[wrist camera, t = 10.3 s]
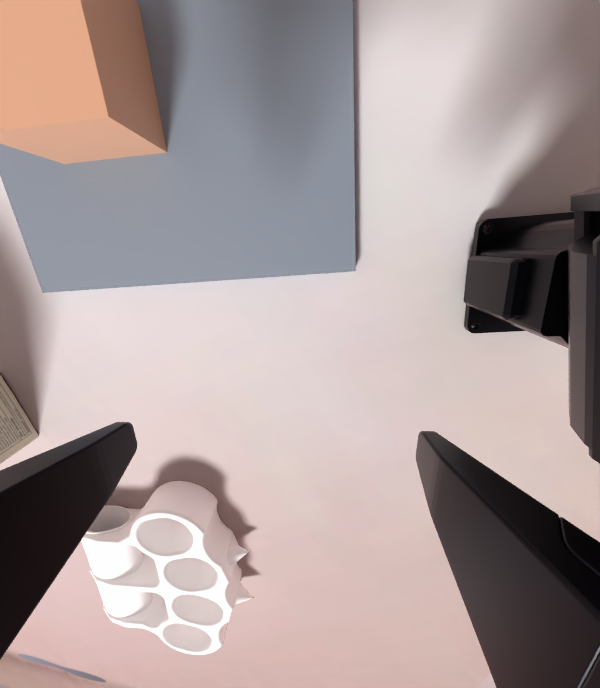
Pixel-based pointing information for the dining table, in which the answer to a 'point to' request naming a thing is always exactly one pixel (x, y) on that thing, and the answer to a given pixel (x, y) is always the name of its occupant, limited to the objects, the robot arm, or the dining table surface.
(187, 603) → the white egg tray
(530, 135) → the dining table surface
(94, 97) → the orange block
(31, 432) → the skincare box
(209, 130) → the base plate
